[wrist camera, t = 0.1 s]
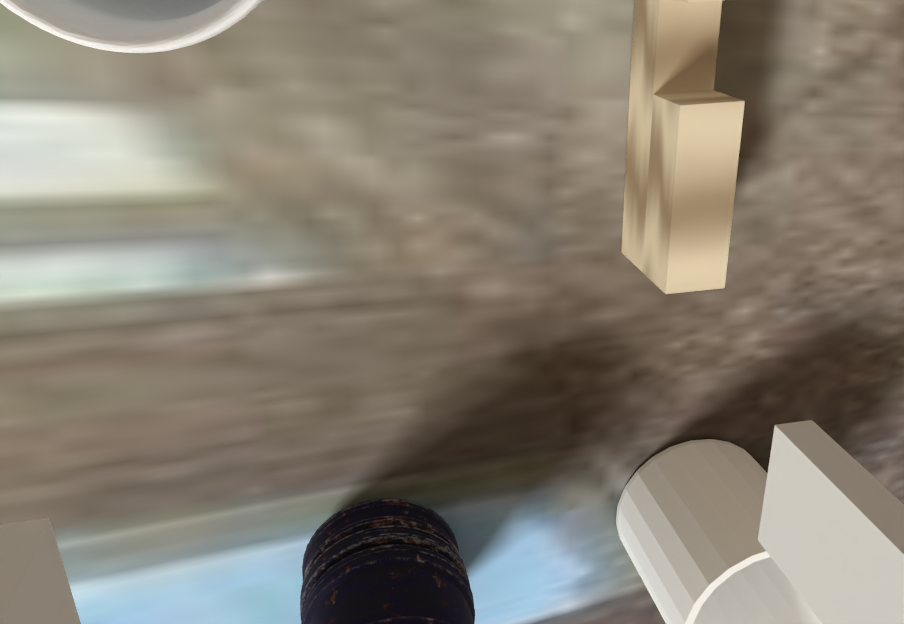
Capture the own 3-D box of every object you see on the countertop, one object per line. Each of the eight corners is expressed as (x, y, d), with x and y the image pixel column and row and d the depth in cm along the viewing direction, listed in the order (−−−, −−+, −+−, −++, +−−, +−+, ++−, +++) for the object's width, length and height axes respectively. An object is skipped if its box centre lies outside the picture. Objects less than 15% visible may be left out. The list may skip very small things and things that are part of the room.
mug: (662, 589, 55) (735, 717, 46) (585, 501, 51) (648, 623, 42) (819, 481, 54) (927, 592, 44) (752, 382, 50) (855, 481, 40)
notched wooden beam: (646, -225, 35) (708, -256, 30) (710, -225, 36) (783, -257, 30) (621, 252, 44) (665, 294, 39) (673, 247, 45) (724, 288, 39)
